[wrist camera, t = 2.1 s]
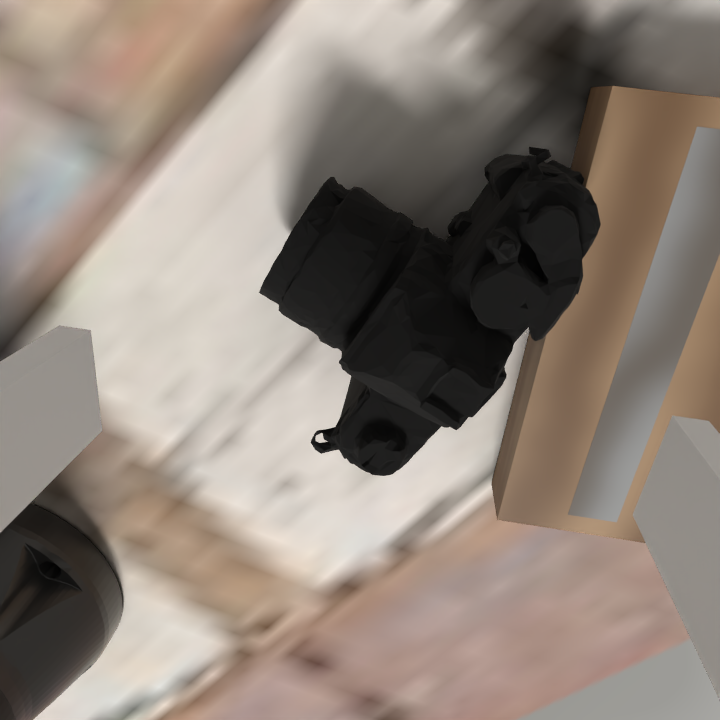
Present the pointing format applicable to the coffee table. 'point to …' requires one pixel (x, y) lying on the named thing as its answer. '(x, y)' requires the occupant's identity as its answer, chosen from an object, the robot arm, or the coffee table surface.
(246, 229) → the coffee table surface
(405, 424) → the film camera
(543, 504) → the wooden pallet
